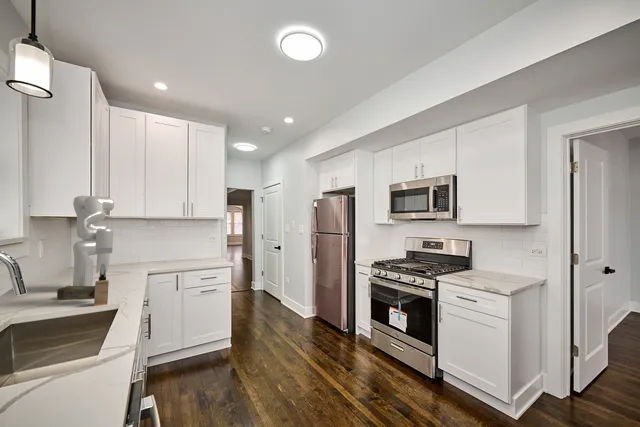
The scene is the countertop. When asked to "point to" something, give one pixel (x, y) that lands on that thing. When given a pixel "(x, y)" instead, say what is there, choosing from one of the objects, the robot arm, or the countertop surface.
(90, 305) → the countertop surface
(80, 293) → the beverage carton
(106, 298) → the wooden block
